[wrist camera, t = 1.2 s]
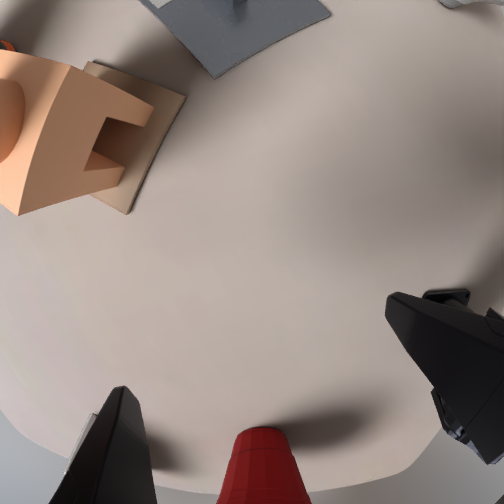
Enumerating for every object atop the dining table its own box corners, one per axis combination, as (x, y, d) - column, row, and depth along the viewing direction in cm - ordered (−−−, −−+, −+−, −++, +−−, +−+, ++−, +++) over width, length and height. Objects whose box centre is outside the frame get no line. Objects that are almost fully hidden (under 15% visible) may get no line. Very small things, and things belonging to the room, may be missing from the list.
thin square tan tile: (186, 97, 16) (184, 96, 16) (128, 213, 18) (125, 215, 18) (90, 62, 15) (88, 61, 14) (45, 166, 17) (41, 167, 16)
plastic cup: (194, 423, 26) (181, 518, 14) (291, 402, 25) (309, 508, 13) (233, 465, 29) (232, 539, 17) (313, 448, 28) (329, 526, 16)
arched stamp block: (154, 107, 16) (7, 39, 3) (116, 186, 17) (-45, 241, 4) (91, 82, 15) (-50, 37, 2) (59, 155, 16) (-90, 178, 3)
